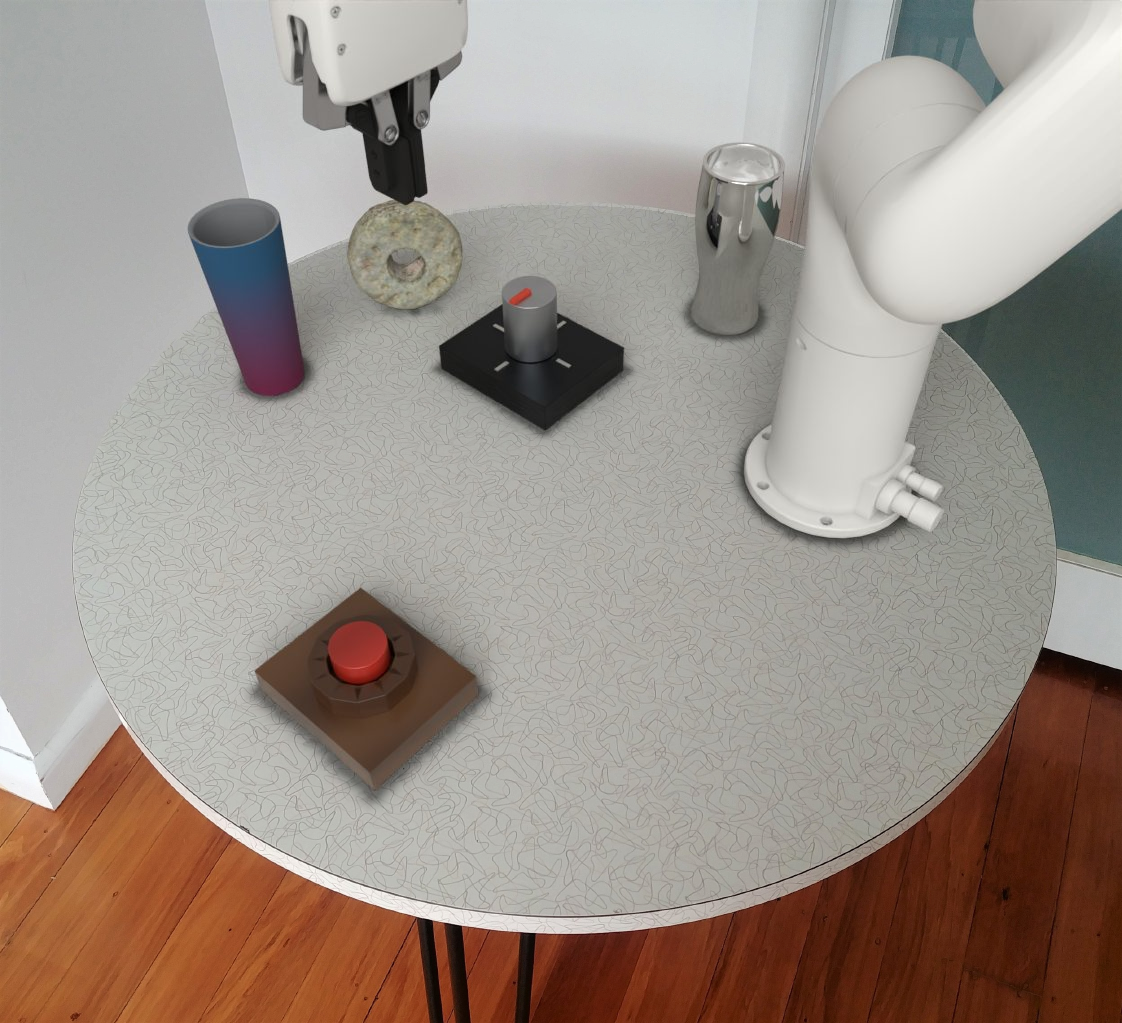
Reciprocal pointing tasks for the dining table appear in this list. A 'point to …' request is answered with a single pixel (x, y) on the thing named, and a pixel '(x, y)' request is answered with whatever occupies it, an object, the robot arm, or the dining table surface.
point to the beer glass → (734, 233)
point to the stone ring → (398, 230)
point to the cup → (251, 290)
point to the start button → (359, 652)
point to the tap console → (532, 368)
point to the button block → (369, 691)
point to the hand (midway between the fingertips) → (399, 191)
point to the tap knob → (530, 318)
